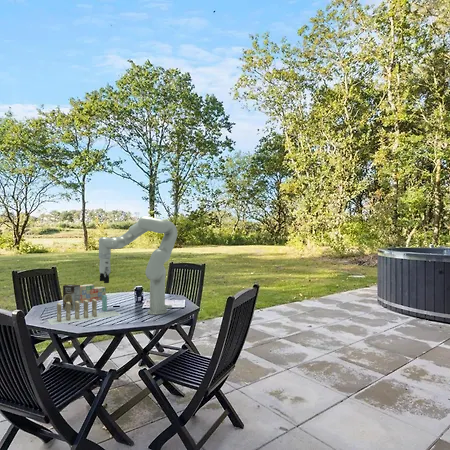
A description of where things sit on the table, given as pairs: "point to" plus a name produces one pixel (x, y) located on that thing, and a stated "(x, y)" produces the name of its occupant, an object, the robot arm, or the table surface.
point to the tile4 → (77, 309)
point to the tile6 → (59, 312)
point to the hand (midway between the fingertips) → (104, 282)
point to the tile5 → (68, 311)
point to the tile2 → (94, 308)
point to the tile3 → (85, 308)
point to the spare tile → (104, 302)
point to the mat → (73, 319)
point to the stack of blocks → (91, 293)
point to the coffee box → (71, 295)
